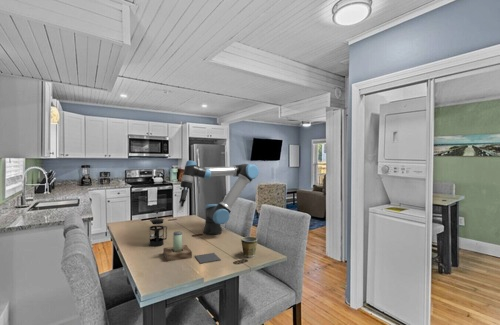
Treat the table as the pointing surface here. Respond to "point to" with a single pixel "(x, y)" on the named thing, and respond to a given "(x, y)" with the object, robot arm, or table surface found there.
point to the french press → (157, 233)
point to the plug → (177, 241)
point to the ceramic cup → (249, 246)
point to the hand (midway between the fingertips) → (179, 212)
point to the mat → (207, 258)
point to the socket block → (177, 253)
